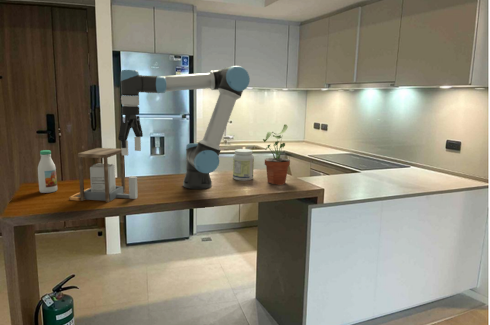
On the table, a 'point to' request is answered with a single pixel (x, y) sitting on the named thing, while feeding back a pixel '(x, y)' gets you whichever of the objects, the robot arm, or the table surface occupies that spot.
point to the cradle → (115, 192)
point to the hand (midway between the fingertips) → (131, 153)
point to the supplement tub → (243, 164)
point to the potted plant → (277, 162)
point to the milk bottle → (47, 173)
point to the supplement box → (102, 177)
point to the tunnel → (104, 154)
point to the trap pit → (76, 196)
